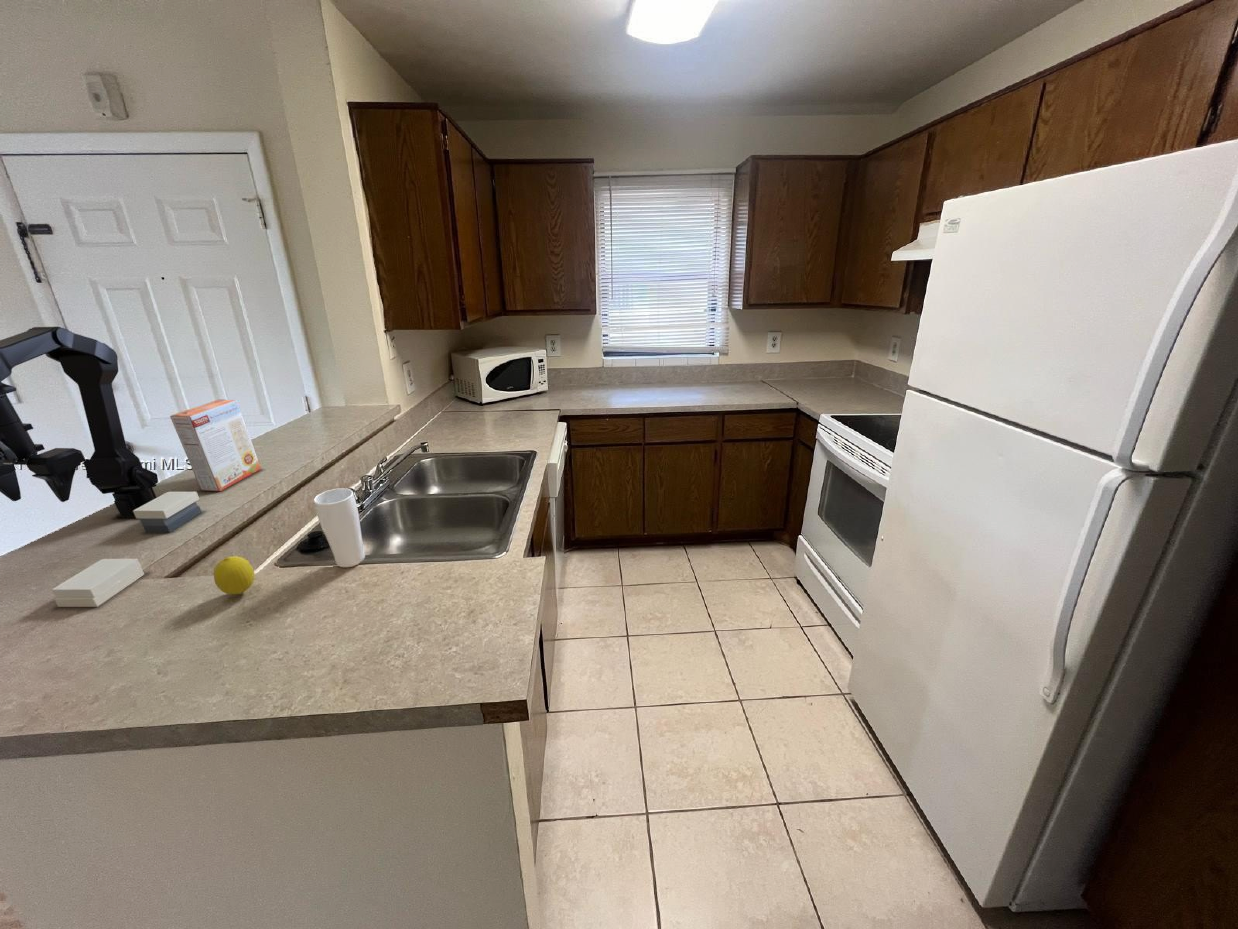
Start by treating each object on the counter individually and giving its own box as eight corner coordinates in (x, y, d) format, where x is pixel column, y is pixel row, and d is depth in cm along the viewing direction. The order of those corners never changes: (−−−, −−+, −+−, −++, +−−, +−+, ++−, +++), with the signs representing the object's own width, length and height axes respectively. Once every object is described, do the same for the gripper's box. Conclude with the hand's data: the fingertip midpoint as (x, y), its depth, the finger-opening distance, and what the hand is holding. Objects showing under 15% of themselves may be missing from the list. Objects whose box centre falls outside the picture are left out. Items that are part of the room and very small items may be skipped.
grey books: (180, 512, 113) (174, 499, 112) (202, 512, 113) (196, 499, 112) (145, 532, 105) (139, 518, 103) (169, 532, 105) (163, 518, 103)
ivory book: (171, 499, 112) (168, 491, 111) (199, 499, 112) (196, 491, 111) (136, 518, 103) (132, 510, 102) (166, 518, 103) (163, 510, 103)
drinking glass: (344, 575, 92) (325, 508, 86) (325, 564, 95) (305, 498, 89) (376, 557, 97) (360, 493, 91) (357, 547, 100) (341, 484, 94)
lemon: (219, 607, 83) (203, 570, 80) (226, 589, 88) (211, 553, 84) (257, 597, 86) (243, 561, 82) (262, 580, 90) (248, 545, 87)
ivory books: (109, 574, 91) (101, 558, 90) (145, 574, 91) (137, 558, 90) (58, 607, 83) (48, 590, 81) (97, 607, 83) (88, 590, 82)
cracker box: (243, 468, 136) (218, 398, 127) (262, 469, 135) (239, 399, 126) (198, 491, 123) (167, 414, 114) (220, 492, 122) (190, 415, 114)
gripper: (-123, 440, 76) (-64, 522, 83) (-7, 442, 76) (43, 524, 83) (-35, 416, 86) (11, 492, 93) (67, 418, 86) (106, 493, 93)
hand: (41, 500), depth 90 cm, fingers open, 9 cm apart
